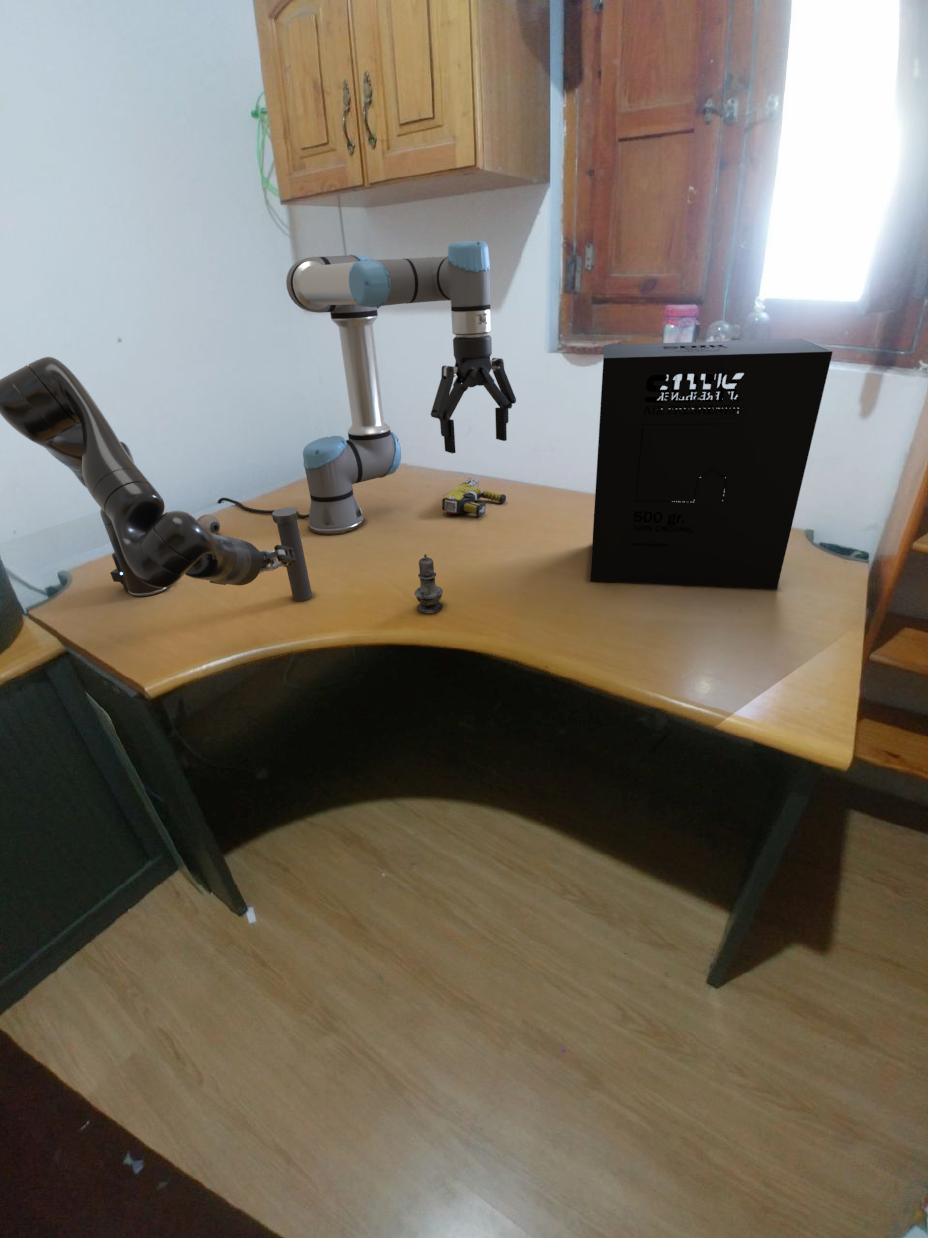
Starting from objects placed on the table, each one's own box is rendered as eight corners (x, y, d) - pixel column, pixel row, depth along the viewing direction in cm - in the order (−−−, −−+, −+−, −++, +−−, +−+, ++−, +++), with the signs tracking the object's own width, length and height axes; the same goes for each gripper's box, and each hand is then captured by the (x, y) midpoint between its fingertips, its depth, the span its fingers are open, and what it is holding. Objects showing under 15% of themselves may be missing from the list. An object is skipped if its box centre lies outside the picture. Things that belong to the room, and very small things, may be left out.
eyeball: (209, 541, 163) (203, 520, 160) (195, 537, 166) (188, 517, 163) (227, 533, 168) (222, 513, 165) (213, 530, 171) (207, 510, 168)
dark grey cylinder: (292, 595, 133) (273, 512, 124) (310, 591, 134) (294, 508, 125) (294, 603, 130) (276, 518, 120) (313, 599, 131) (297, 515, 122)
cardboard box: (756, 549, 141) (800, 338, 118) (776, 589, 124) (832, 351, 101) (592, 544, 148) (604, 344, 126) (590, 580, 131) (603, 357, 109)
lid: (272, 517, 124) (270, 510, 124) (297, 513, 126) (295, 505, 125) (275, 525, 120) (273, 517, 119) (301, 521, 122) (299, 513, 121)
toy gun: (514, 482, 184) (468, 475, 188) (491, 505, 164) (440, 497, 168) (513, 497, 186) (467, 490, 190) (490, 522, 166) (439, 513, 170)
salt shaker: (440, 614, 122) (436, 560, 116) (412, 613, 123) (406, 559, 117) (447, 600, 127) (443, 548, 121) (420, 599, 128) (414, 547, 122)
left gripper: (262, 524, 95) (298, 537, 112) (180, 551, 96) (227, 560, 113) (276, 569, 95) (310, 576, 111) (193, 596, 96) (238, 599, 112)
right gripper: (429, 342, 108) (437, 460, 118) (533, 329, 120) (532, 437, 131) (407, 340, 113) (417, 454, 124) (508, 328, 125) (510, 432, 136)
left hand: (268, 568), depth 112 cm, fingers open, 8 cm apart
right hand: (476, 445), depth 127 cm, fingers open, 13 cm apart
